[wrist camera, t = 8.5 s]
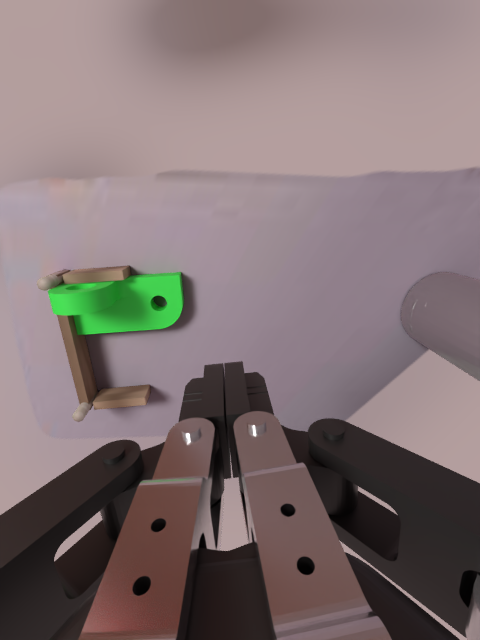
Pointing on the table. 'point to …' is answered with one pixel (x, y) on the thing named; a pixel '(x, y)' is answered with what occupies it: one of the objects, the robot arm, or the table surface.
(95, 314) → the mechanical part
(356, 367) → the table surface
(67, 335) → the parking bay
